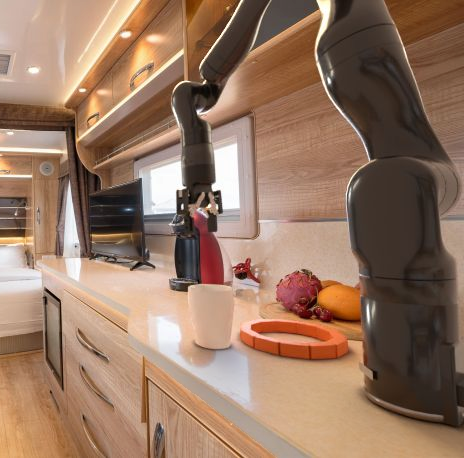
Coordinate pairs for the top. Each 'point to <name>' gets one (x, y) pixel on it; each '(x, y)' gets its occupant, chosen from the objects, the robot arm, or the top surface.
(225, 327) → the cup
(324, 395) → the top surface
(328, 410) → the top surface
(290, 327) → the ring
